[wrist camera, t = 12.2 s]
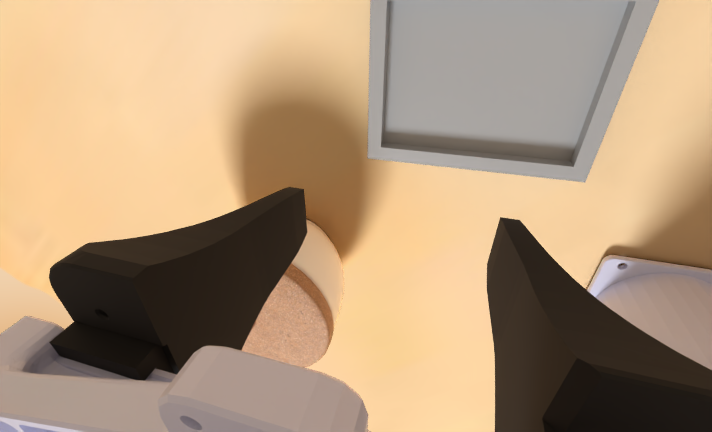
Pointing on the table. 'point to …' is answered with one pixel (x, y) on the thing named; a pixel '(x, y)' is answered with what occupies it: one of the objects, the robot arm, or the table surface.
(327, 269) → the lidded jar
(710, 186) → the table surface
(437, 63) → the tray
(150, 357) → the robot arm
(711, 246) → the table surface
